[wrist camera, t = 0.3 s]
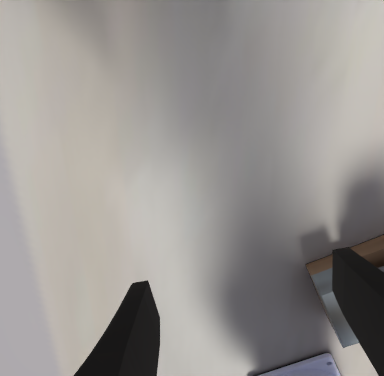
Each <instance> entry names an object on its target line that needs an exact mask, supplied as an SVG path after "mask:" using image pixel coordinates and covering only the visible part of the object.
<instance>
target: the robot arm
mask: <svg viewBox="0 0 384 376" xmlns="http://www.w3.org/2000/svg"><path fill="white" fill-rule="evenodd" d="M332 291H333V293H334V295H335V298H336V300H337V303H338V305H339V307H340V309H341V311H342V314H343V316H344V317H345V319H346V321H347V322H348V324H349V326H350V328H351V329H352V331H353V333H354V334H355V336H356V338H357V339H358V341H359V343H360V345H361V346H362V348H363V350H364V351H365V353H366V355H367V356H368V358H369V360H370V361H371V363H372V365H373V366H374V368H375V370H376V372H377V373H378V375H379V376H384V272H383V271H381V270H380V269H378V268H377V267H376V266H374V265H373V264H371V263H370V262H369V261H367V260H366V259H364V258H363V257H362V256H360V255H359V254H357V253H356V252H355V251H353V250H352V249H350V248H349V247H348V248H342V249H336V250H333V256H332ZM159 347H160V317H159V313H158V310H157V307H156V304H155V301H154V298H153V295H152V292H151V288H150V285H149V282H148V281H142V282H136V283H133V284H132V285H131V286H130V288H129V290H128V292H127V294H126V296H125V298H124V300H123V301H122V303H121V305H120V307H119V309H118V310H117V312H116V314H115V316H114V317H113V319H112V321H111V322H110V324H109V326H108V327H107V329H106V331H105V332H104V334H103V335H102V337H101V338H100V340H99V341H98V343H97V344H96V346H95V347H94V349H93V350H92V352H91V353H90V355H89V356H88V357H87V359H86V360H85V362H84V363H83V364H82V366H81V367H80V368H79V369H78V371H77V372H76V373H75V375H74V376H157V367H158V357H159ZM258 376H341V375H340V373H339V371H338V369H337V366H336V364H335V362H334V360H333V357H332V355H331V354H329V353H325V354H322V355H319V356H316V357H313V358H310V359H307V360H304V361H301V362H297V363H294V364H291V365H288V366H285V367H282V368H279V369H276V370H273V371H270V372H267V373H264V374H261V375H258Z"/></svg>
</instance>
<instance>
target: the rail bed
mask: <svg viewBox="0 0 384 376" xmlns="http://www.w3.org/2000/svg"><path fill="white" fill-rule="evenodd" d="M350 249H352V250H353V251H355V252H356V253H357V254H359V255H360V256H362V257H363V258H364V259H366V260H367V261H369V262H370V263H371V264H373V265H374V266H376V267H377V268H379V267H382V266H384V235H382V236H380V237H377V238H374V239H372V240H369V241H366V242H364V243H361V244H359V245H356V246H353V247H351V248H350ZM332 256H333V254H332V255H330V256H327V257H324V258H322V259H319V260H317V261H314V262H311V263H309V264H306V267H307V270H308V272H309V274H310V277H311V279H312V281H313V284H314V286H315V289H316V291H317V293H318V296H319V298H320V300H321V303H322V305H323V308H324V310H325V312H326V315H327V317H328V319H329V321H330V323H331V325H332V327H333V329H334V331H335V333H336V335H337V337H338V339H339V341H340V343H341V345H342V347H343V348H344V347H347V346H350V345H354V344H357V343H359V341H358V339H357V338H356V336H355V334H354V333H353V331H352V329H351V328H350V326H349V324H348V322H347V321H346V319H345V317H344V316H343V314H342V311H341V309H340V307H339V305H338V303H337V300H336V298H335V295H334V293H333V291H332Z"/></svg>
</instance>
